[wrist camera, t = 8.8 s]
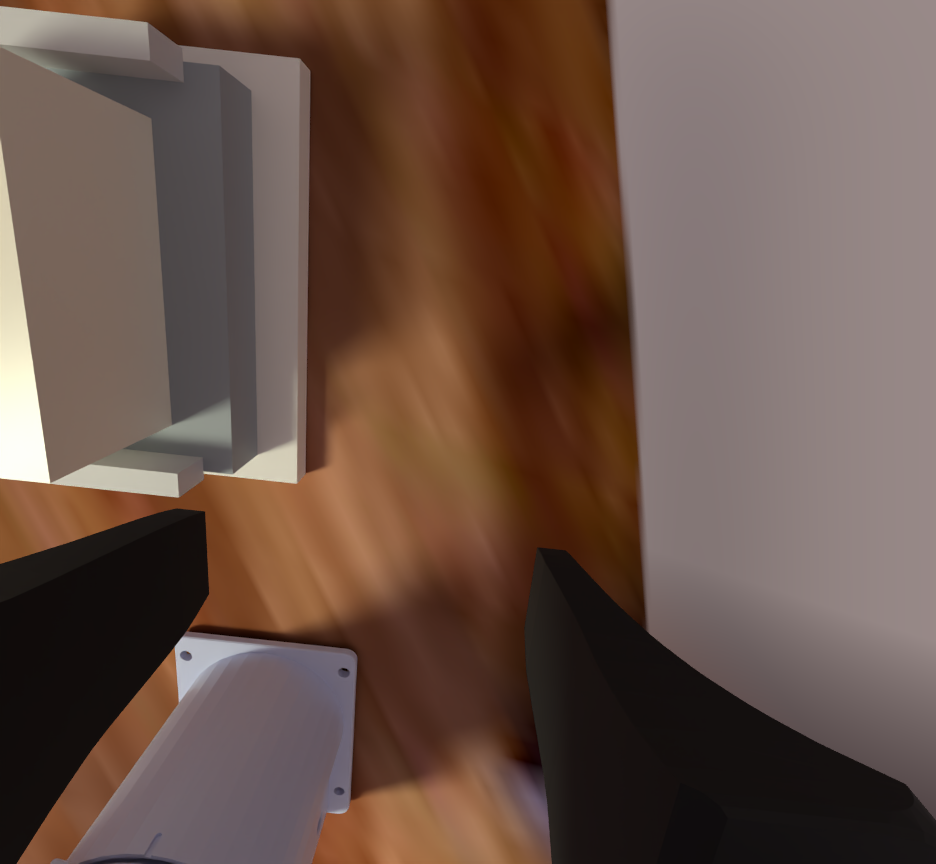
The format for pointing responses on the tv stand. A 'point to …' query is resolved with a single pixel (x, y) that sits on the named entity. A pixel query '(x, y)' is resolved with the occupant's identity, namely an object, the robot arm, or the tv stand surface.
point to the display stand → (208, 242)
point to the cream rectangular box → (76, 277)
